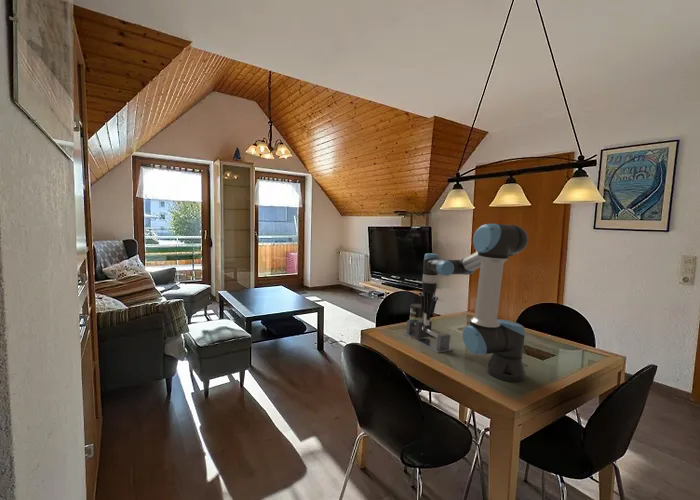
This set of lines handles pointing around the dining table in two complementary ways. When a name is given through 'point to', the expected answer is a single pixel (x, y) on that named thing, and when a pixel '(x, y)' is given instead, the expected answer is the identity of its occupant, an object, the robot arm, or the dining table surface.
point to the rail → (429, 338)
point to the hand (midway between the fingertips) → (426, 324)
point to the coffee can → (416, 312)
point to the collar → (419, 329)
